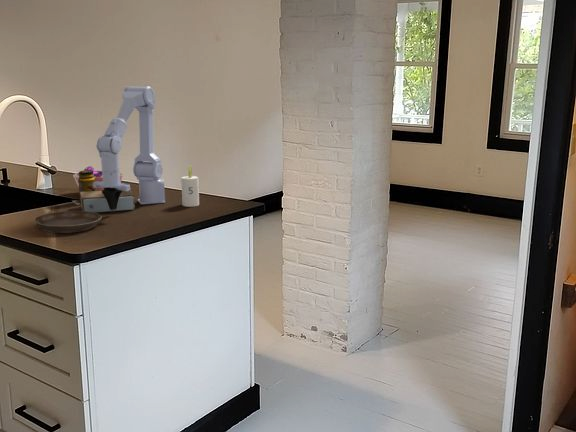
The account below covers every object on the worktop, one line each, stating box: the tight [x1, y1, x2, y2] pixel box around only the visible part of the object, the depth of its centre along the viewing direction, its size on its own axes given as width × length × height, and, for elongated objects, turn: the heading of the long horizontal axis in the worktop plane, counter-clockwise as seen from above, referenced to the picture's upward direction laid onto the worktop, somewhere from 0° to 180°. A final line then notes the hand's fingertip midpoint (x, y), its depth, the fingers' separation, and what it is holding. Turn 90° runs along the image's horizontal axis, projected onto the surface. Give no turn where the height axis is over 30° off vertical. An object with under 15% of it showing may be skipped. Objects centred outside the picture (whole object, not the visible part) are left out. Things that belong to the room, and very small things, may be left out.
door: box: [83, 196, 136, 213], centre depth 217 cm, size 18×2×5 cm, turn 111°
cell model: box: [72, 165, 124, 191], centre depth 247 cm, size 17×20×11 cm
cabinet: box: [79, 189, 136, 213], centre depth 223 cm, size 18×11×6 cm, turn 111°
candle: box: [180, 164, 200, 208], centre depth 229 cm, size 6×6×15 cm
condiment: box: [72, 170, 96, 206], centre depth 233 cm, size 7×8×12 cm
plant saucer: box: [34, 210, 103, 234], centre depth 199 cm, size 21×21×3 cm
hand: (113, 209), depth 213 cm, fingers closed
